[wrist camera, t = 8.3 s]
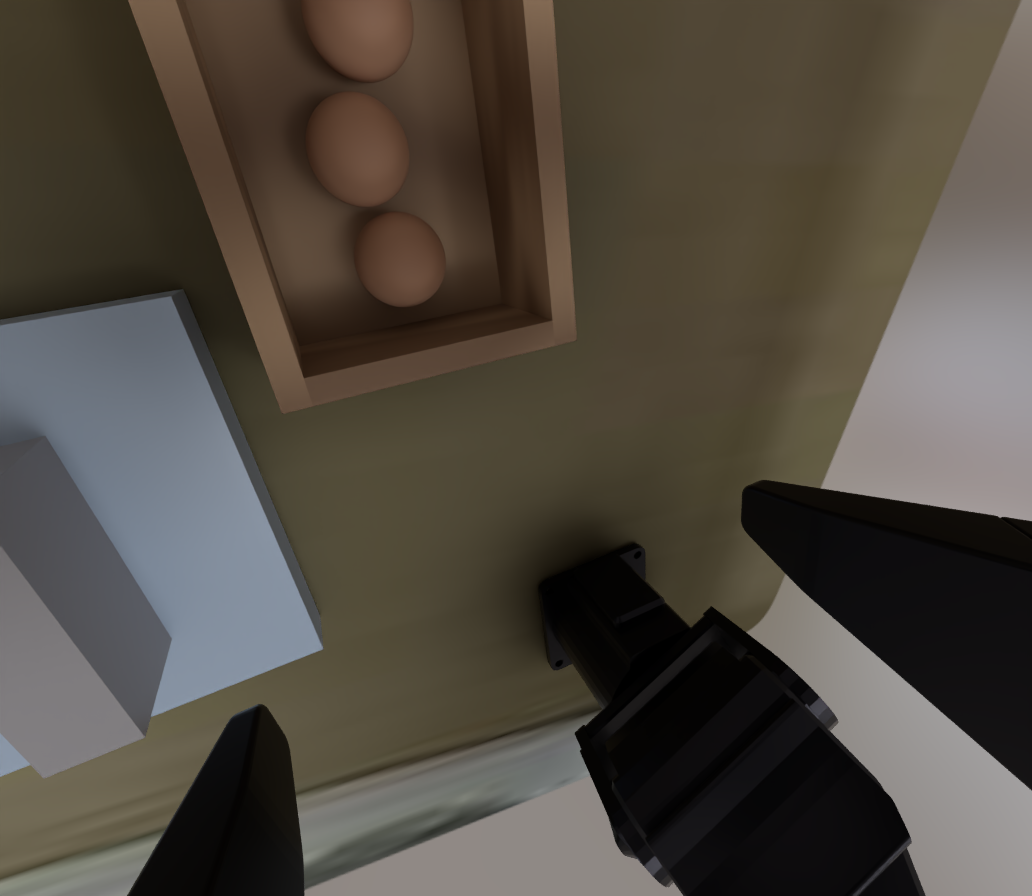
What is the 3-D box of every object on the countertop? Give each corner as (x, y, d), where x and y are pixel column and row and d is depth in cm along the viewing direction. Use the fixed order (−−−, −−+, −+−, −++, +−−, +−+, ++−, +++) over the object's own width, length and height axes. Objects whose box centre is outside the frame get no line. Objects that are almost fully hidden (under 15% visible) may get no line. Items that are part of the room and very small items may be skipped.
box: (515, 317, 20) (576, 340, 16) (282, 369, 17) (282, 413, 13) (464, -90, 15) (537, -217, 10) (114, -106, 12) (20, -288, 8)
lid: (320, 616, 22) (331, 733, 17) (16, 730, 18) (-85, 919, 13) (183, 288, 15) (133, 318, 10) (-318, 373, 12) (-750, 476, 7)
